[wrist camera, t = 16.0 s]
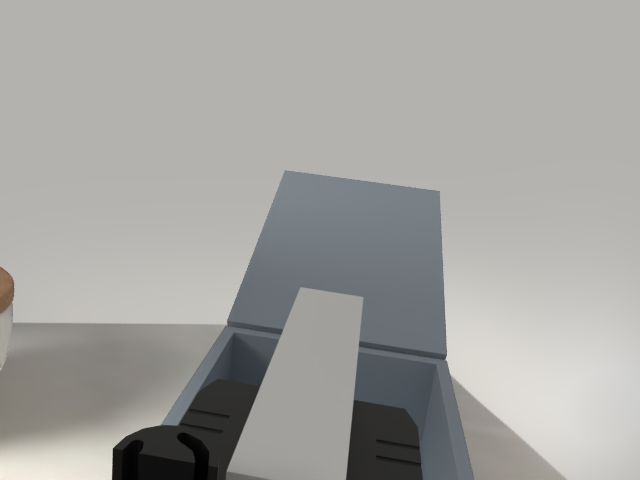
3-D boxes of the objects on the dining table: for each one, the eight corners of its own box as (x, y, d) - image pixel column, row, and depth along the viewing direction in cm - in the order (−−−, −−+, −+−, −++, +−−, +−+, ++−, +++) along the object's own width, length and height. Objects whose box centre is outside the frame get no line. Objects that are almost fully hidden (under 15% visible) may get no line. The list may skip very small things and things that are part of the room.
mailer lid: (227, 320, 42) (227, 327, 42) (446, 354, 40) (444, 361, 41) (285, 170, 59) (284, 176, 59) (439, 191, 58) (438, 196, 58)
